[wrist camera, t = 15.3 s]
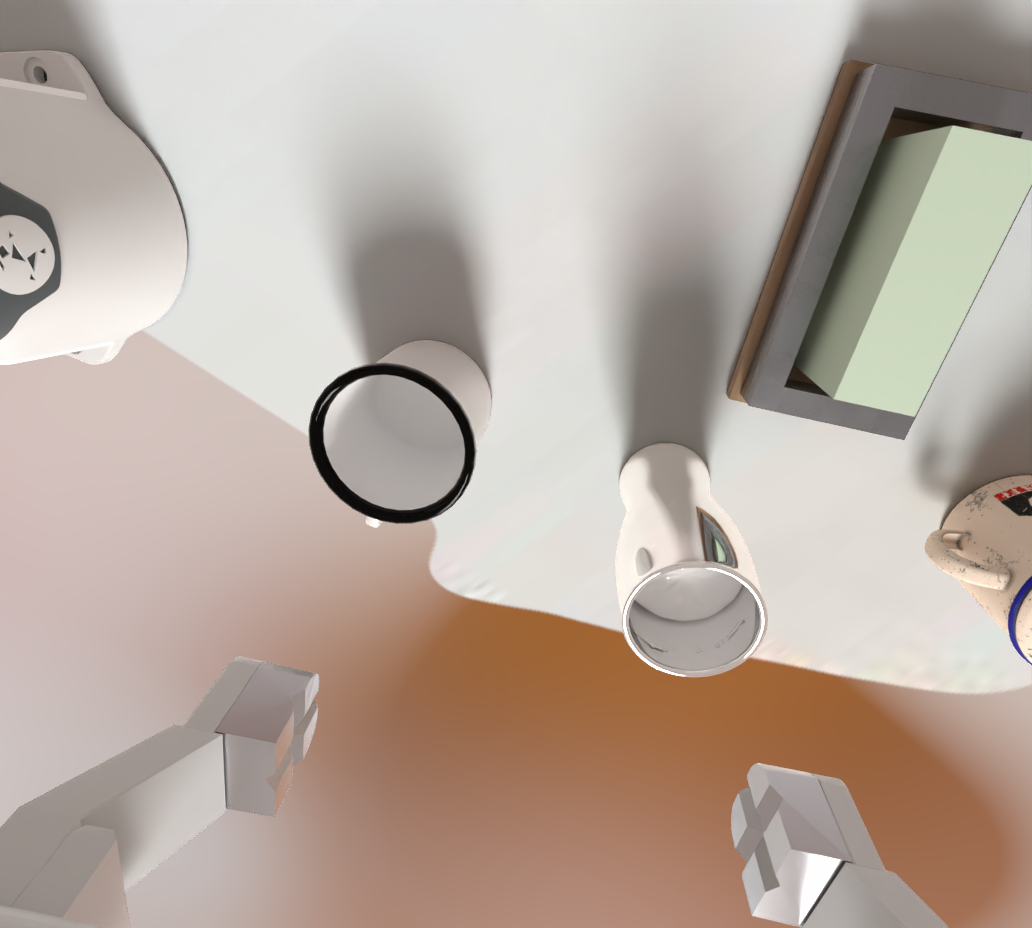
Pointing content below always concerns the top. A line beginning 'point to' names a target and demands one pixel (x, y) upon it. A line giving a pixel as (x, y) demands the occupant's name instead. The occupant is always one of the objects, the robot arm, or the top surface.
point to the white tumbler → (683, 569)
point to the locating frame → (826, 214)
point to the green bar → (913, 263)
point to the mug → (402, 432)
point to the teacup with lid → (993, 554)
